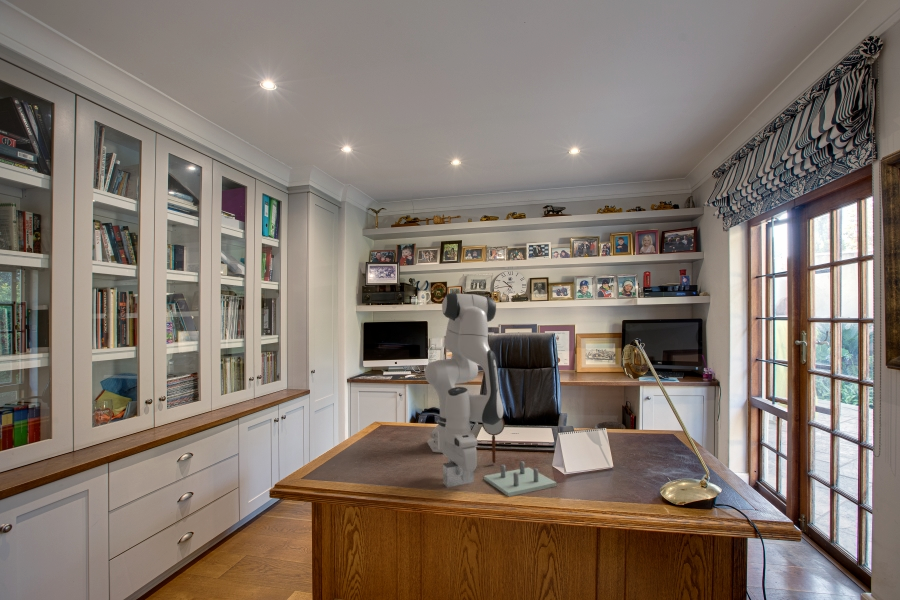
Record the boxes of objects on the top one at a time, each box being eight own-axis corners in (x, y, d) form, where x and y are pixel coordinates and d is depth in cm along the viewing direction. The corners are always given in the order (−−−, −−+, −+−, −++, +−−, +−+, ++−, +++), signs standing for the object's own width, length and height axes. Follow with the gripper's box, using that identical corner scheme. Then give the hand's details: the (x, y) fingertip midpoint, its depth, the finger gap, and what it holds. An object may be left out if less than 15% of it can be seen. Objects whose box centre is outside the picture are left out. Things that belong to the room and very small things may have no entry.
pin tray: (484, 479, 148) (483, 464, 148) (528, 470, 156) (528, 456, 156) (508, 496, 133) (508, 480, 134) (556, 486, 141) (556, 470, 141)
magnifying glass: (482, 464, 163) (481, 412, 163) (483, 463, 164) (482, 411, 165) (504, 466, 160) (503, 413, 161) (505, 465, 162) (504, 412, 163)
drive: (443, 484, 144) (443, 463, 145) (469, 479, 148) (468, 459, 149) (447, 487, 141) (447, 466, 142) (473, 482, 145) (473, 462, 146)
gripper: (438, 429, 154) (438, 467, 153) (462, 444, 135) (463, 488, 135) (453, 427, 156) (454, 464, 156) (479, 441, 138) (480, 484, 137)
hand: (458, 475), depth 145 cm, fingers open, 8 cm apart
